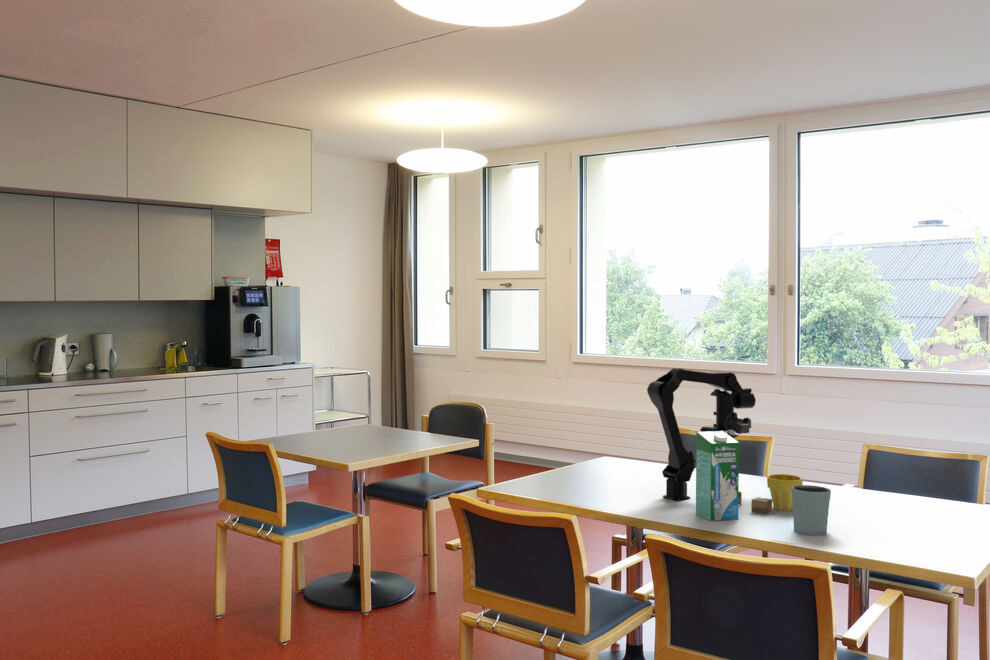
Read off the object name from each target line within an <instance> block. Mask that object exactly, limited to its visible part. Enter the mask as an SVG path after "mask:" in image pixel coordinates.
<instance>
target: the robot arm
mask: <svg viewBox="0 0 990 660" xmlns="http://www.w3.org/2000/svg"><path fill="white" fill-rule="evenodd" d="M683 381H687V382H692V383H693V382H694V383H701V384H707V385H709V386H712V387H714V388H715V389H714V390H713V391H712V392H711V393H710V396H712V397H715V402H716V403H715V405H716V406H715V407H716V408H715V411H713V416H715V423H713V424H712V425H713V426H712V425H711V426H709V425H708V426H707V425H706V426H702V427H700V429H699V430H700V431H699V432H707V431H723V432H725V433H726V434H728V435H729V436H730V437H732V438H733V439H736V438H738V436H739V435H742V434H750V429H751V428H752V419H751V418H749V417H744V418H739V417H738V413H737V412H735V409H739V410H740V409H741V410H742V409H752V408H754V407H755V405H756V402H757V401H756V397H755V394H754V393H753V392H752V388H749V387H746V388H745V387H744V388H743V387H742V386H741V384H740V383H739V381H738V378H737V376H736V374H735V373H734V372H727V371H711V372H710V371H709V372H704V371H695V370H689V369H684V368H678V367H674V368H671V369H670V370H669V371H668V372H667V373H665V374H663V375H662V376H660V377H658V378H657V379H656V380H653V381H652V382H650V383H649V384H648V387H647V388H646V392H647V395H648V397H649V398H650V401H651V402H652V404H653V405H654V407H655V408H656V409H657V411H658V414H659V418H660V421H661V425H662V429H663V432H664V435H665V436H664V437H665V439H666V442H667V445H668V449H669V452H668V457H667V459H668V464H667V465H666V466H665V467H664V469H663V470H662V473H661V474H662V476H663V478H665V479H666V484H665V485H666V490H665V491H666V492H665V494H664V495H662V498H666V499H670V500H673V501H682V500H688V499H690V498H691V496H689V495H688V483H687V482H691V477H692V475H693V473H694V470H696V465H695V464H696V459H695V458H694V453H693V451H692V450H689V449H687V448H685V446H684V442H683V439H682V435H681V431H680V428H679V425H678V421H677V418H676V415H675V411H674V408H673V407H674V406H673V404H674V400H675V397H674V393H675V392H676V391H677V390H678V389H679V387H680V386H681V384H682V382H683ZM730 392H731V393H730ZM738 434H739V435H738Z"/></svg>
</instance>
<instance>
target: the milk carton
mask: <svg viewBox="0 0 990 660" xmlns="http://www.w3.org/2000/svg"><path fill="white" fill-rule="evenodd" d="M695 434H696V437H695V440H696V441H695V443H696V445H695V446H696V447H695V449H696V450H695V462H696V463H695V464H696V465H695V514H696V515H697V516H700V517H701V518H704V519H706V520H708V521H711V522H715V521H717V522H718V521H731V520H738V519H739V505H738V491H739V481H740V480H739V476H740V475H739V474H740V473H739V470H740V469H739V467H740V465H739V463H740V461H739V459H740V458H739V457H740V455H739V453H740V446H739V445H740V444H739V443H740V442H739V441H738V440H736V438H734V439H733V438H732V437H730V436H729V435H728V434H726V433H725V432H723V431H707V432H700V431H696V433H695Z"/></svg>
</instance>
